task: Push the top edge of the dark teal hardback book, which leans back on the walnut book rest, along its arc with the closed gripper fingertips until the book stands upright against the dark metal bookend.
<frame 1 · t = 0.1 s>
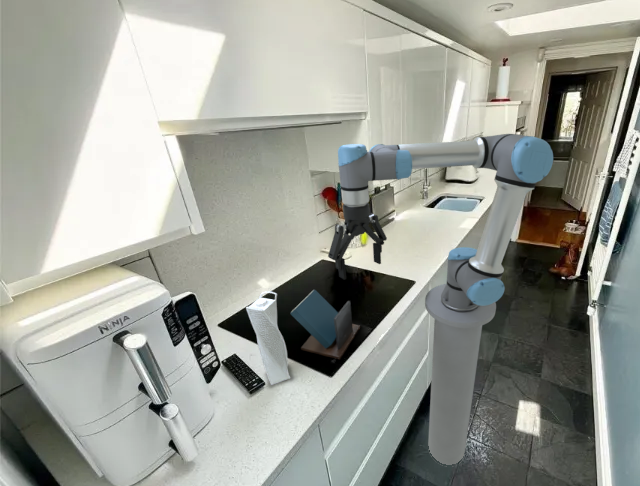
hand: (360, 269, 95), 25 cm above the worktop, tool pointing down, fingers open, 13 cm apart
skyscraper: (280, 375, 91), on the worktop
book: (319, 317, 102), point 8 cm above the worktop, hinge at 45.0°, touching book rest
book rest: (332, 338, 104), on the worktop
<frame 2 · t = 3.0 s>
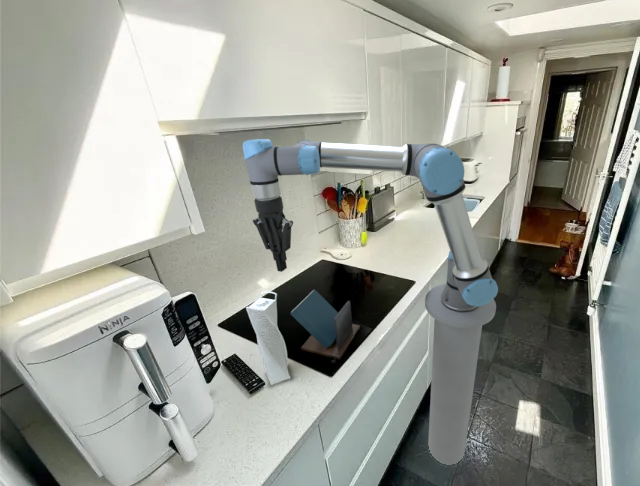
hand: (282, 269, 98), 24 cm above the worktop, tool pointing down, fingers closed
nothing on the worktop moved.
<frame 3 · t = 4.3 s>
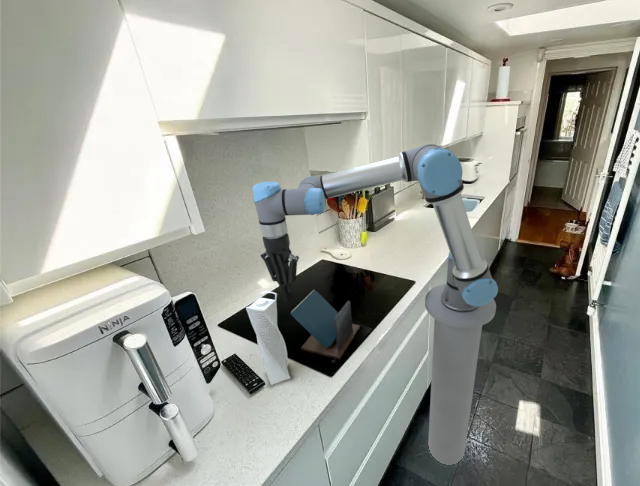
hand: (288, 299, 103), 13 cm above the worktop, tool pointing down, fingers closed
nothing on the worktop moved.
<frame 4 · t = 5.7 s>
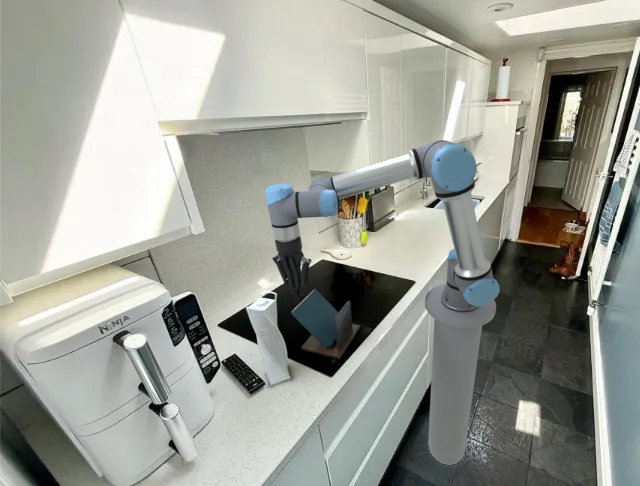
hand: (299, 302, 102), 12 cm above the worktop, tool pointing down, fingers closed
book: (320, 317, 102), point 8 cm above the worktop, hinge at 43.4°, touching book rest, gripper
everything else where it was.
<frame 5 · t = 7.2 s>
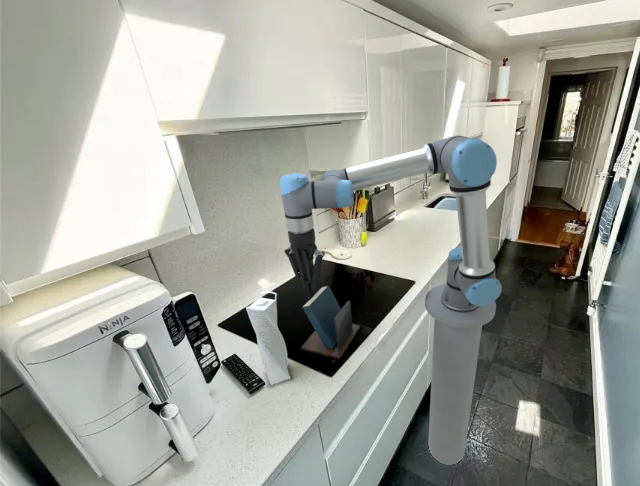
hand: (310, 297, 99), 16 cm above the worktop, tool pointing down, fingers closed
book: (327, 316, 101), point 9 cm above the worktop, hinge at 22.9°, touching book rest, gripper
everything else where it was.
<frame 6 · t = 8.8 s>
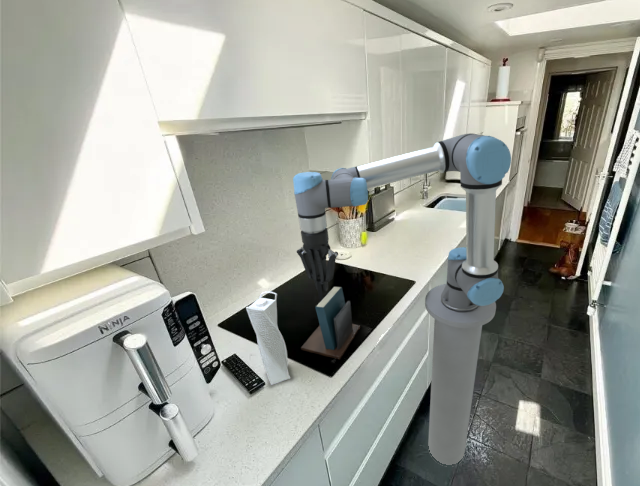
hand: (323, 298, 98), 16 cm above the worktop, tool pointing down, fingers closed
book: (333, 317, 100), point 9 cm above the worktop, hinge at 5.5°, touching book rest, gripper
everything else where it was.
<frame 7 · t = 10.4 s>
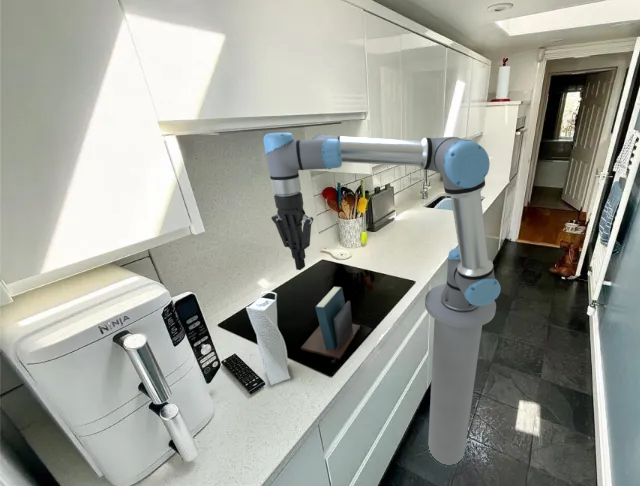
hand: (300, 267, 95), 26 cm above the worktop, tool pointing down, fingers closed
book: (333, 317, 100), point 9 cm above the worktop, hinge at 5.5°, touching book rest
everything else where it was.
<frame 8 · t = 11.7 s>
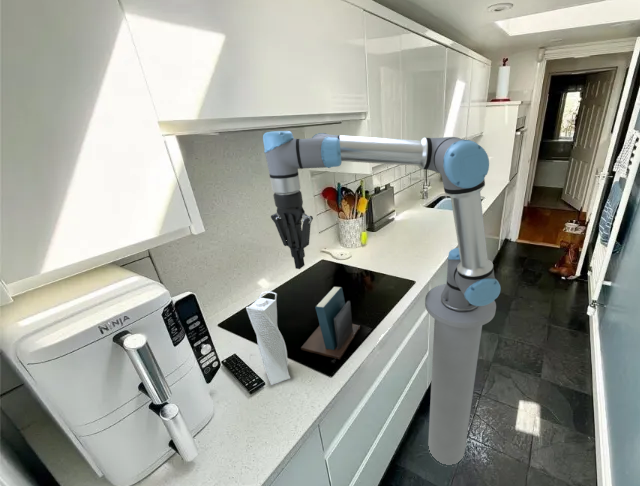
hand: (300, 266, 95), 26 cm above the worktop, tool pointing down, fingers closed
nothing on the worktop moved.
at the end: book at +6° (first picture: +45°) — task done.
